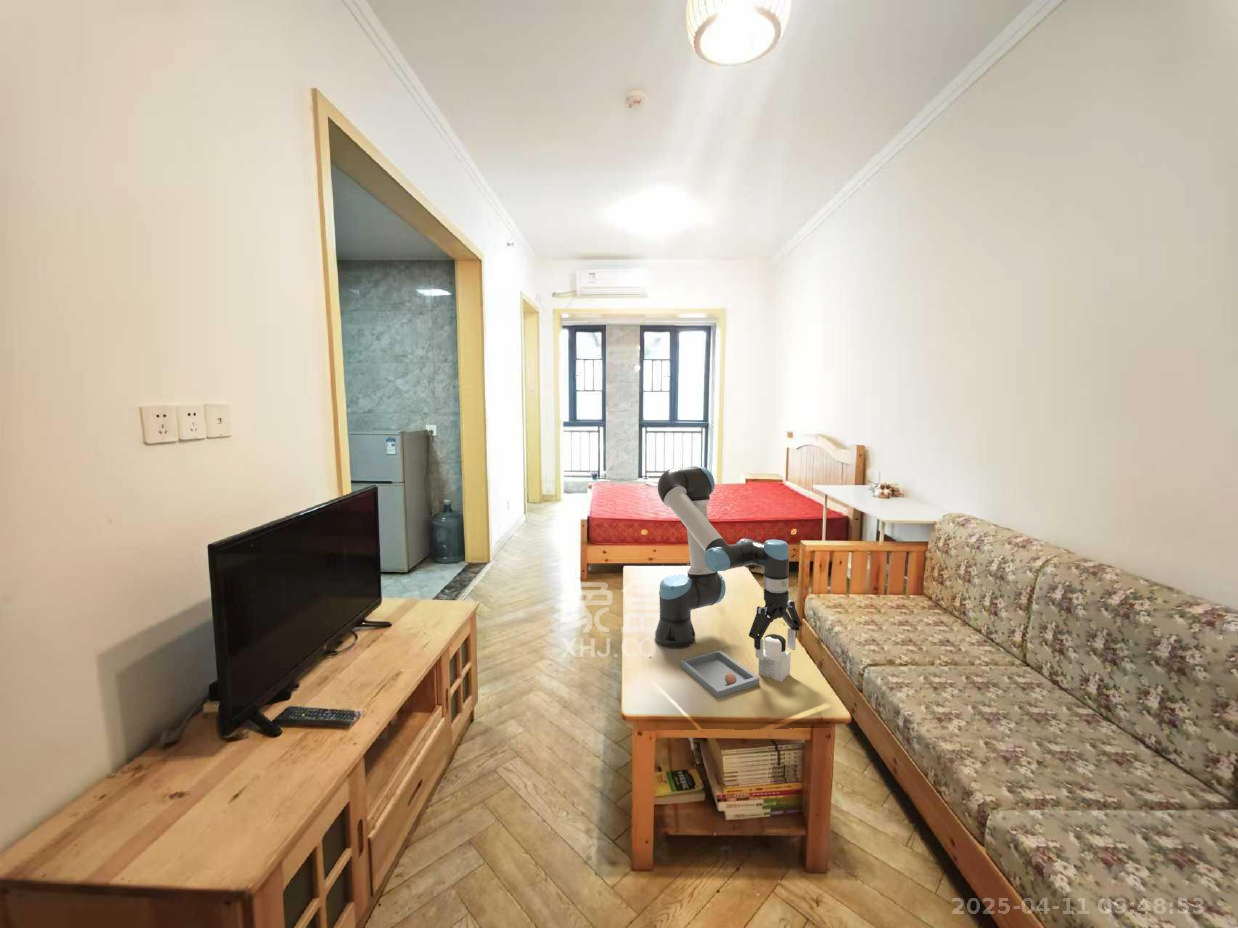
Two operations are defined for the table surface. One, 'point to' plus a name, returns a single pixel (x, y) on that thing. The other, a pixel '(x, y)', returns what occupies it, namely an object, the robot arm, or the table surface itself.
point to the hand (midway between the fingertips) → (775, 653)
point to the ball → (730, 678)
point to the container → (775, 658)
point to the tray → (719, 673)
